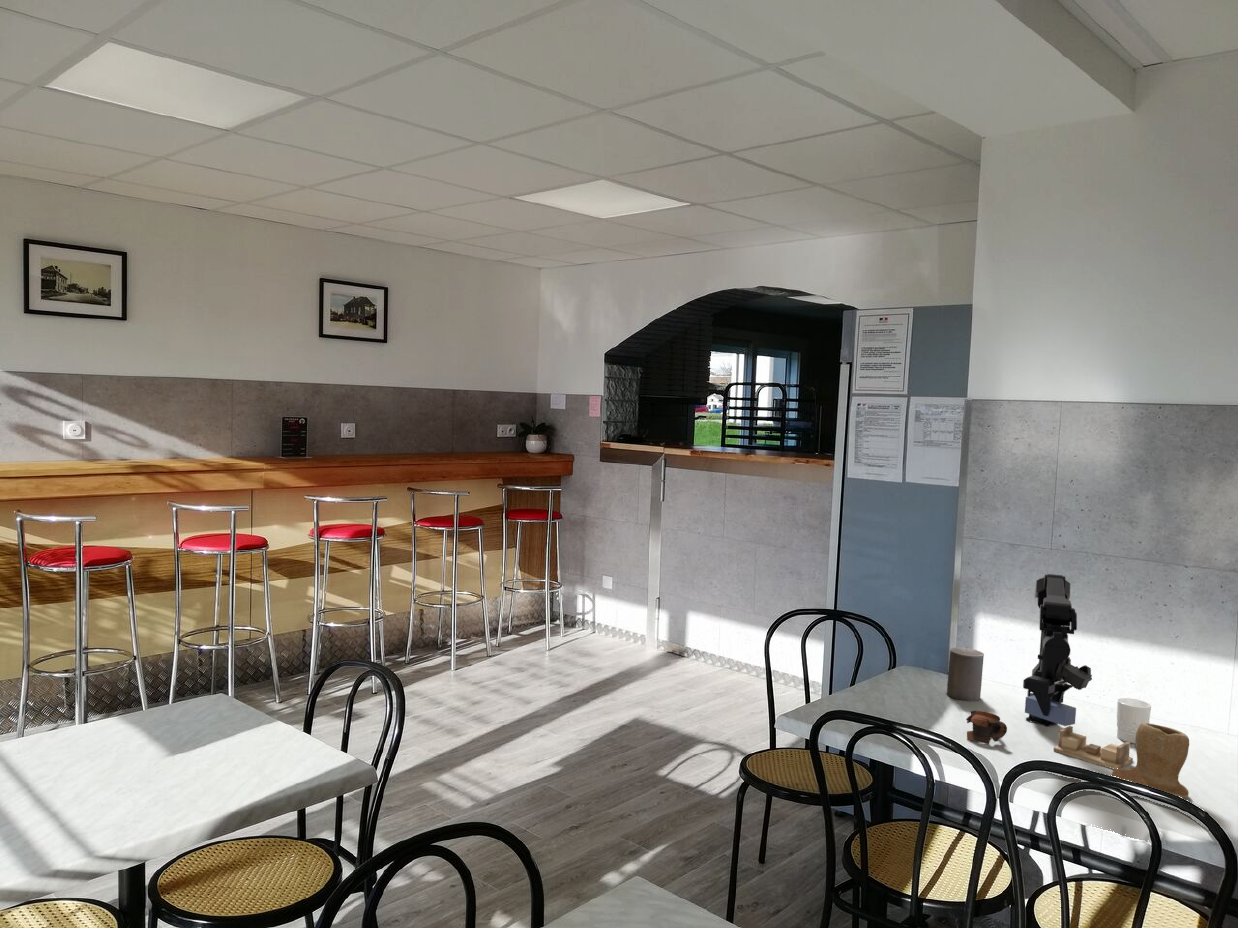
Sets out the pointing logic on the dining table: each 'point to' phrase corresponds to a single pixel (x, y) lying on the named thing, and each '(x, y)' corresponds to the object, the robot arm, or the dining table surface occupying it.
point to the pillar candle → (965, 674)
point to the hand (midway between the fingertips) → (1049, 713)
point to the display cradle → (1092, 750)
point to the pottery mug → (985, 727)
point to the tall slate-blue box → (1052, 711)
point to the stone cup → (1158, 759)
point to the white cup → (1131, 717)
